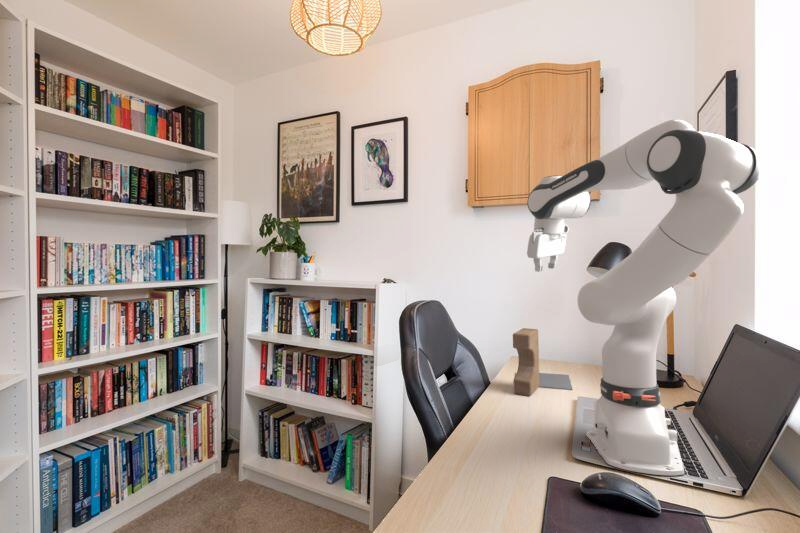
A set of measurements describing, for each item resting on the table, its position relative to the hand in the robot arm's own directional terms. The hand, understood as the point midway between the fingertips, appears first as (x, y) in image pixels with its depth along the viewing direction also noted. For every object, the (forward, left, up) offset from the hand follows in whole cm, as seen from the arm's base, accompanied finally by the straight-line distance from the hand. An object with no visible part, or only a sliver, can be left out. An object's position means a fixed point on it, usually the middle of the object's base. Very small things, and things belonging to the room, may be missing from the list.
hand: (545, 269), depth 128 cm
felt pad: (+15, +2, -41) cm, 44 cm away
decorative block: (+1, +7, -41) cm, 41 cm away
